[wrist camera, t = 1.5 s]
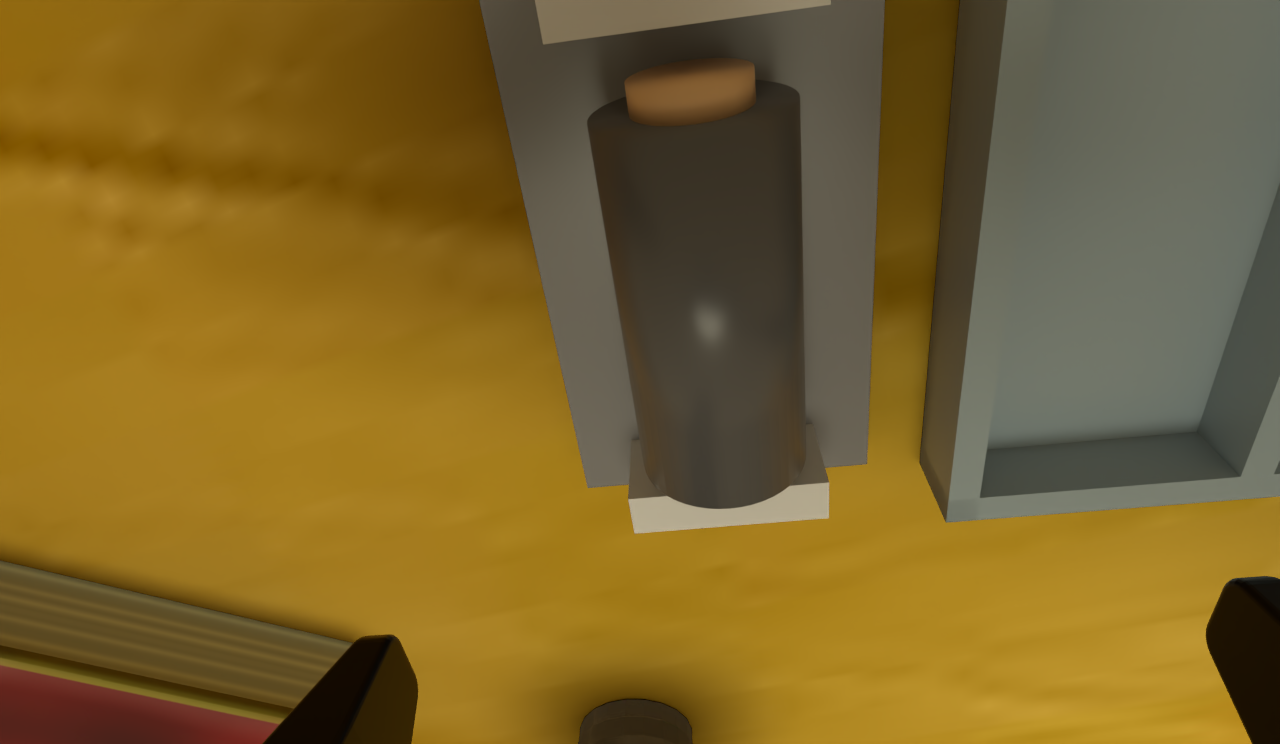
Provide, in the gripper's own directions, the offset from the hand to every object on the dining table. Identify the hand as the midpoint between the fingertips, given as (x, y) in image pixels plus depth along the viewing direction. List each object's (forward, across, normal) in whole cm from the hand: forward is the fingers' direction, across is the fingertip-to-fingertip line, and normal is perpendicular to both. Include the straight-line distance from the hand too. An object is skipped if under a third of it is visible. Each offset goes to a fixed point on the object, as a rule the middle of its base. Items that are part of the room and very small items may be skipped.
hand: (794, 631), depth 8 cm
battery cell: (+11, 0, 0) cm, 11 cm away
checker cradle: (+12, 0, 0) cm, 12 cm away
